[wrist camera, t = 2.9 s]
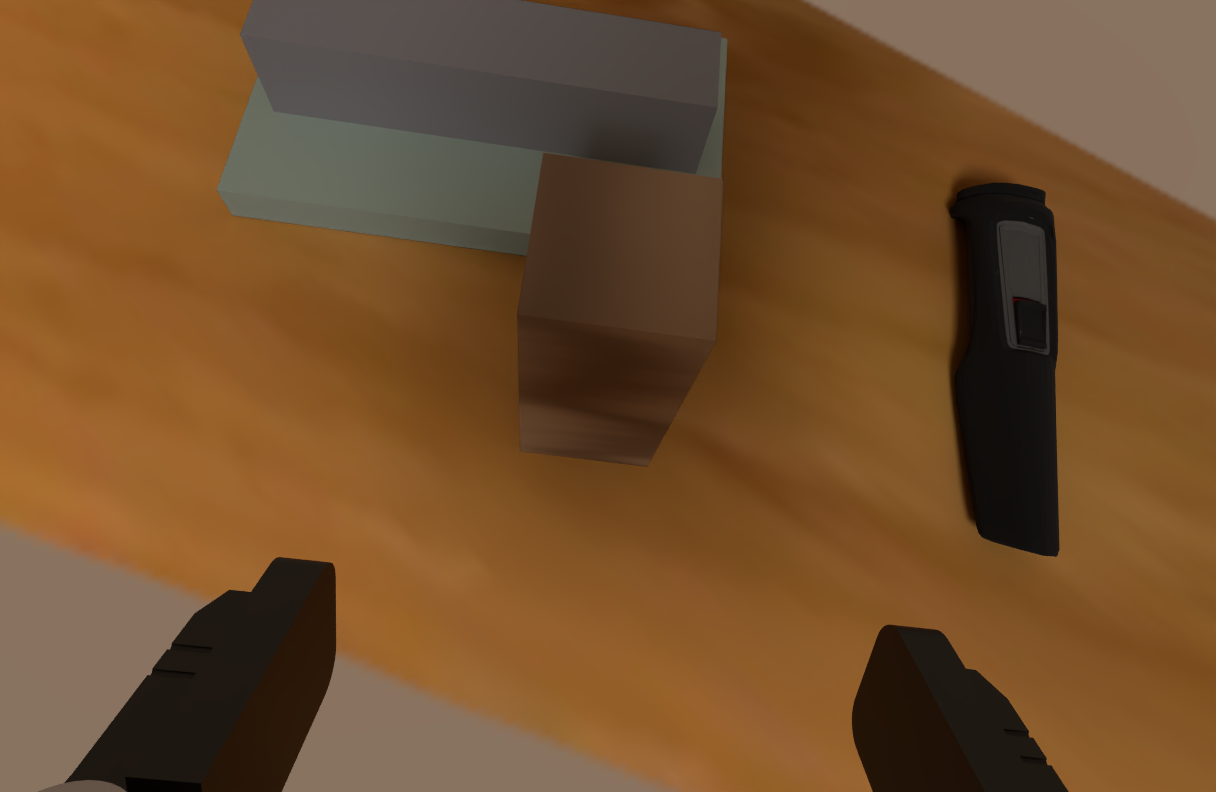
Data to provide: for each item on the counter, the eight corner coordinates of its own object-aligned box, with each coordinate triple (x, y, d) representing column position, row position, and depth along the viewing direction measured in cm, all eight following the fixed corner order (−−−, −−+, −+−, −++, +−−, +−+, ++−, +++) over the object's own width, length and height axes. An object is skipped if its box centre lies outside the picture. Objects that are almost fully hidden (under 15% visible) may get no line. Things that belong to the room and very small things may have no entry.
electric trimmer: (936, 557, 26) (989, 542, 23) (942, 198, 32) (984, 149, 29) (1039, 578, 26) (1104, 565, 23) (1026, 216, 32) (1078, 169, 29)
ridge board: (718, 66, 33) (750, -37, 28) (707, 281, 28) (743, 202, 24) (305, 1, 32) (268, -117, 27) (232, 215, 27) (172, 119, 23)
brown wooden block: (656, 352, 27) (723, 179, 18) (646, 466, 26) (716, 340, 16) (537, 336, 27) (543, 152, 18) (520, 450, 25) (517, 314, 16)
